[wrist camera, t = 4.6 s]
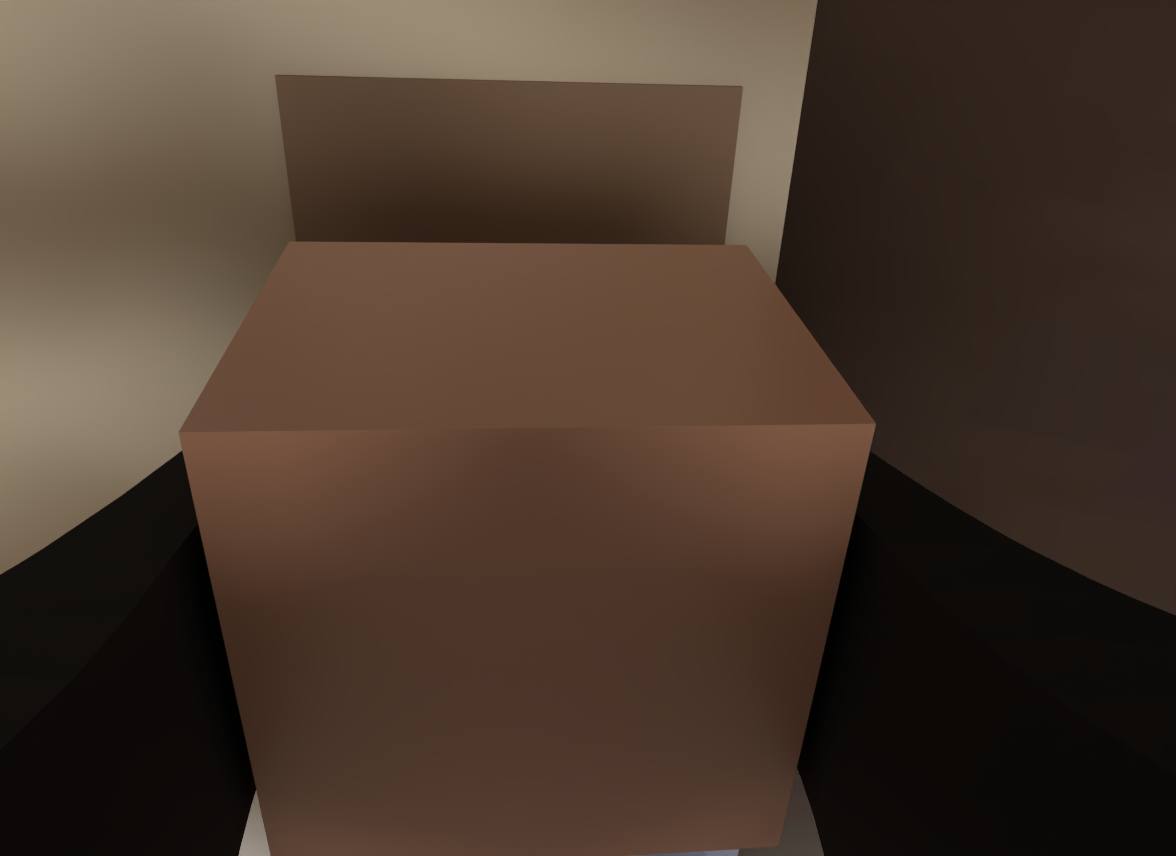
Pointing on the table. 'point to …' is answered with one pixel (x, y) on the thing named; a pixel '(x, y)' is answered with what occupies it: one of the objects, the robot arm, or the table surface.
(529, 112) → the board
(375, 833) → the terracotta brick
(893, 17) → the table surface
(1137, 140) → the table surface
